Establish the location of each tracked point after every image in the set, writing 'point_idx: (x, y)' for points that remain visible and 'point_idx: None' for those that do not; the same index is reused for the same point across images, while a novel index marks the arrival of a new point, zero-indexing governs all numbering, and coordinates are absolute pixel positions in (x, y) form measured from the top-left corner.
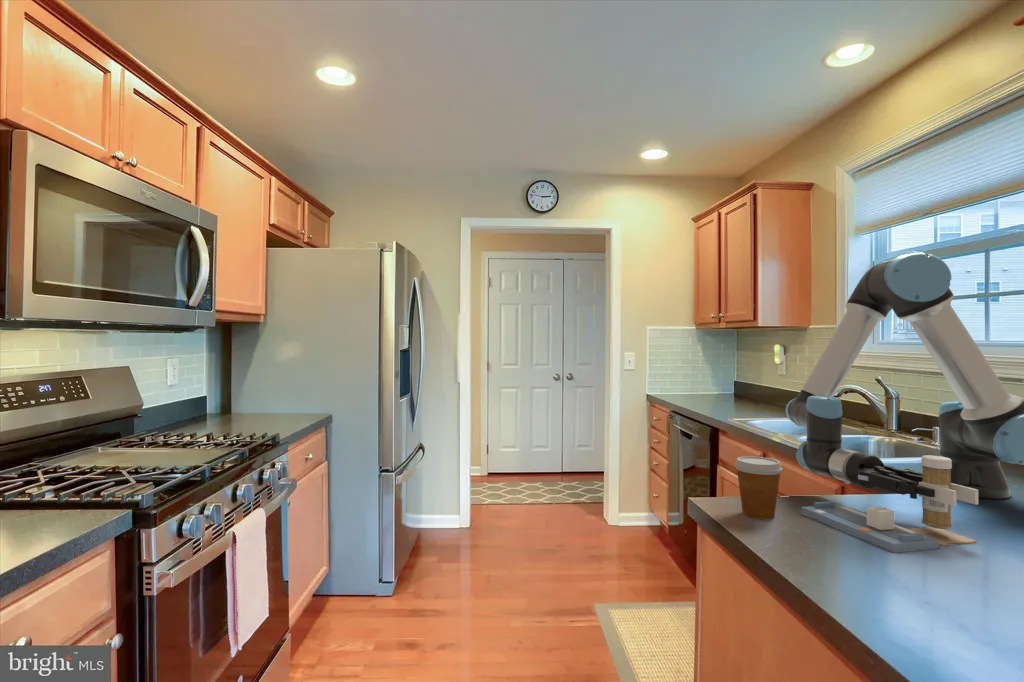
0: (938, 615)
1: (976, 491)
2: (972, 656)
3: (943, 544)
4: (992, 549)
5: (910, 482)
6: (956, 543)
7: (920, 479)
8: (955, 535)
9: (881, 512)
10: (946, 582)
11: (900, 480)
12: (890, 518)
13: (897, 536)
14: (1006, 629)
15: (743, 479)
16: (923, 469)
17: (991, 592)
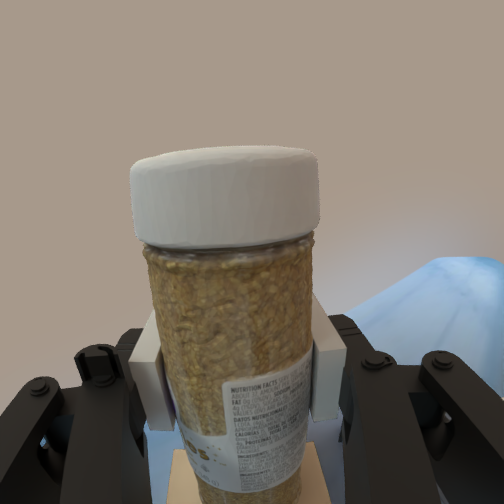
0: (459, 283)
1: None
2: (453, 262)
3: (309, 442)
4: None
5: (394, 362)
6: None
7: (128, 499)
8: (188, 490)
9: (502, 398)
10: (424, 321)
11: (446, 379)
12: None
13: (449, 416)
14: (414, 275)
15: None
16: (309, 261)
17: (381, 309)
